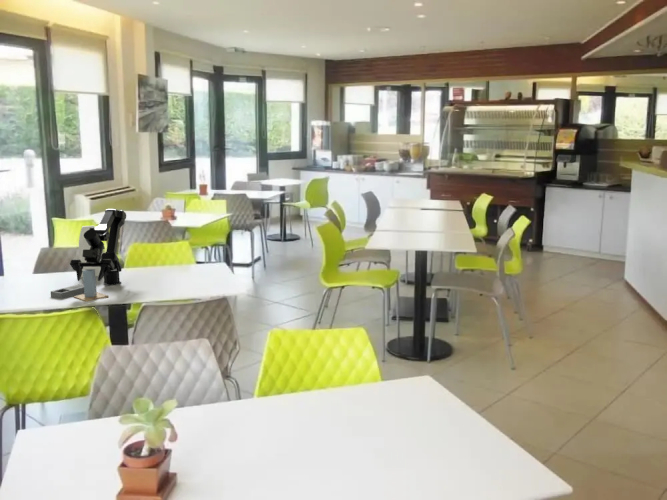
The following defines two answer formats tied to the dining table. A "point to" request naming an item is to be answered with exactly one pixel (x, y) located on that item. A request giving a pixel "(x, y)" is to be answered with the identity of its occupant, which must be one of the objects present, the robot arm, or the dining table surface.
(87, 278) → the plug
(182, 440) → the dining table surface
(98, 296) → the cork mat
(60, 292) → the gray slotted board
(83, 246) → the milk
